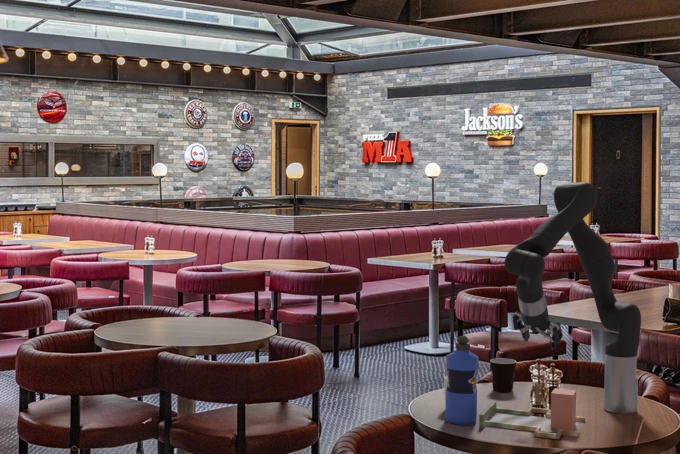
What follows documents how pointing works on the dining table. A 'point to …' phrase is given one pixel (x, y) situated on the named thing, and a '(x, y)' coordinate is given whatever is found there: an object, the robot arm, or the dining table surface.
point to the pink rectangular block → (563, 409)
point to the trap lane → (525, 421)
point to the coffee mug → (503, 374)
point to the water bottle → (461, 384)
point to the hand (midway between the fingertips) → (540, 343)
